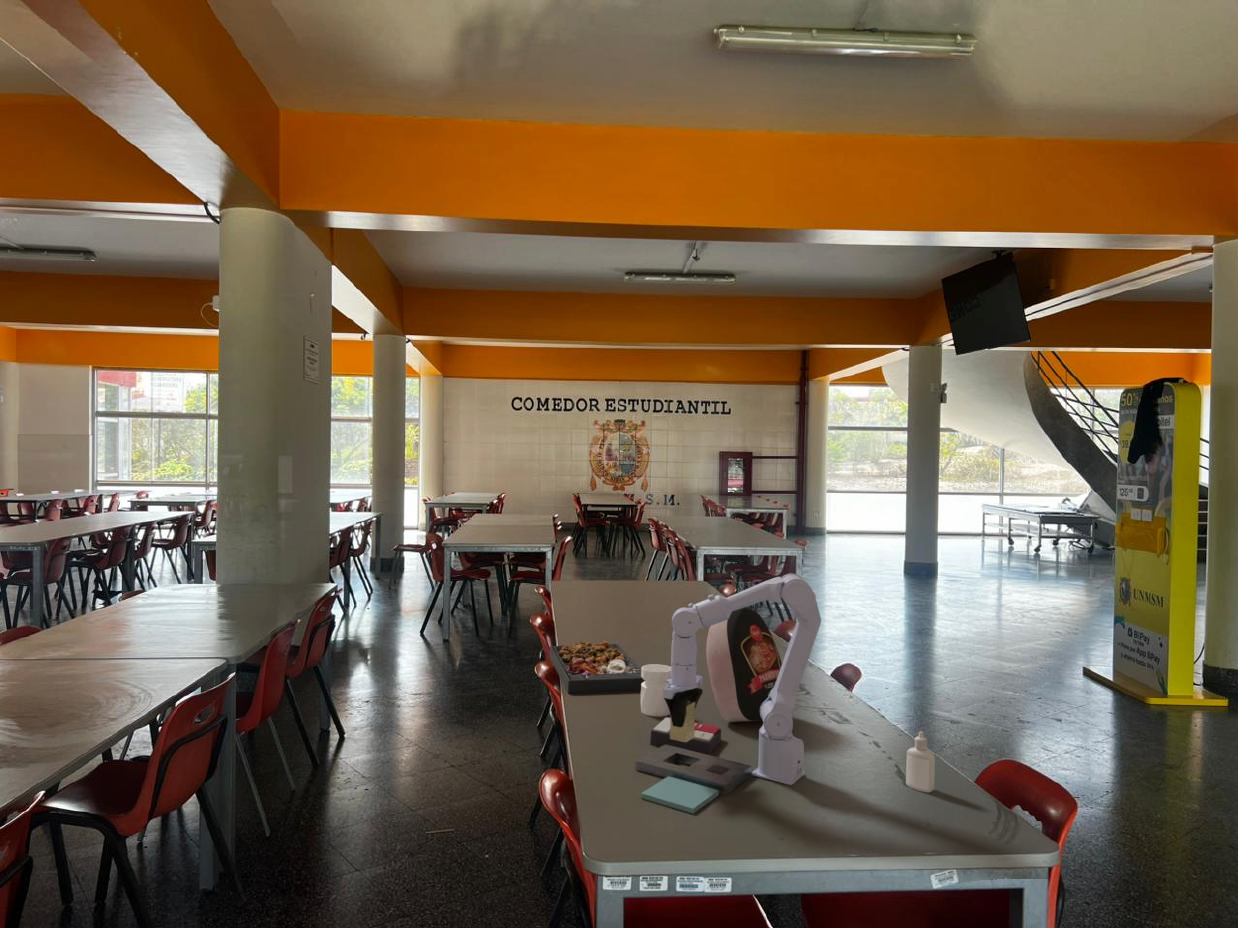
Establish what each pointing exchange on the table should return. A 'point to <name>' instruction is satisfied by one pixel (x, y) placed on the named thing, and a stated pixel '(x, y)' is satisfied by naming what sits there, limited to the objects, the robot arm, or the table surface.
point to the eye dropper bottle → (920, 766)
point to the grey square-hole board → (694, 768)
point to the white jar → (654, 689)
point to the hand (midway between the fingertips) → (682, 723)
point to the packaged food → (742, 664)
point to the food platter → (595, 668)
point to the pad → (680, 794)
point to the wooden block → (685, 725)
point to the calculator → (701, 743)
